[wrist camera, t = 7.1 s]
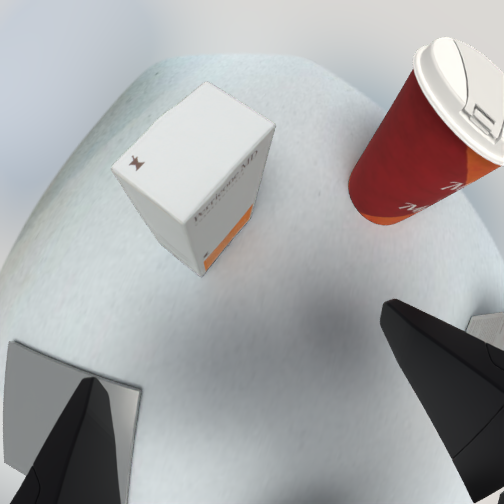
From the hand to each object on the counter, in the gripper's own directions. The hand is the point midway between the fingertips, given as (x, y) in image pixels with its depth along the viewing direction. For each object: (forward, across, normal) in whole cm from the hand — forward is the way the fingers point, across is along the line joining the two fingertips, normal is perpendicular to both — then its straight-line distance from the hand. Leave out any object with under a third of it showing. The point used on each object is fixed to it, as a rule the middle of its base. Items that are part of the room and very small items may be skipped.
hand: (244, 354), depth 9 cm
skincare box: (+16, 0, +4) cm, 16 cm away
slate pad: (+6, +15, +13) cm, 21 cm away
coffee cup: (+16, -15, +4) cm, 22 cm away
